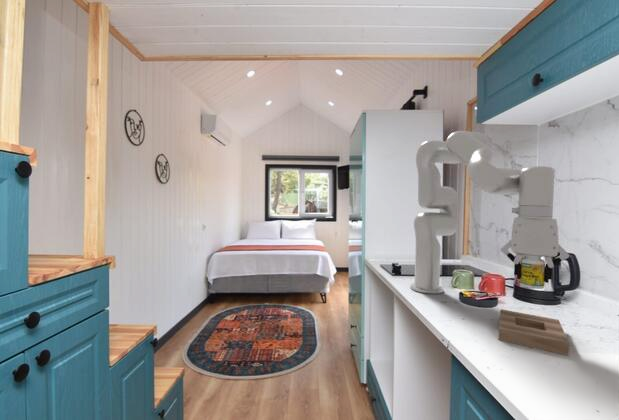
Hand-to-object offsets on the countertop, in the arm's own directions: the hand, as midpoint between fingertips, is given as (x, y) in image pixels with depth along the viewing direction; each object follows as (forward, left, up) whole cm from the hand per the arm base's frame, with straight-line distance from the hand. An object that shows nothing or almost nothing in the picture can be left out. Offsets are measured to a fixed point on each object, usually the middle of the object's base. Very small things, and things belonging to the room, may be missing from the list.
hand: (532, 279), depth 83 cm
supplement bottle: (0, 0, -2) cm, 2 cm away
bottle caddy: (0, 0, -15) cm, 15 cm away
